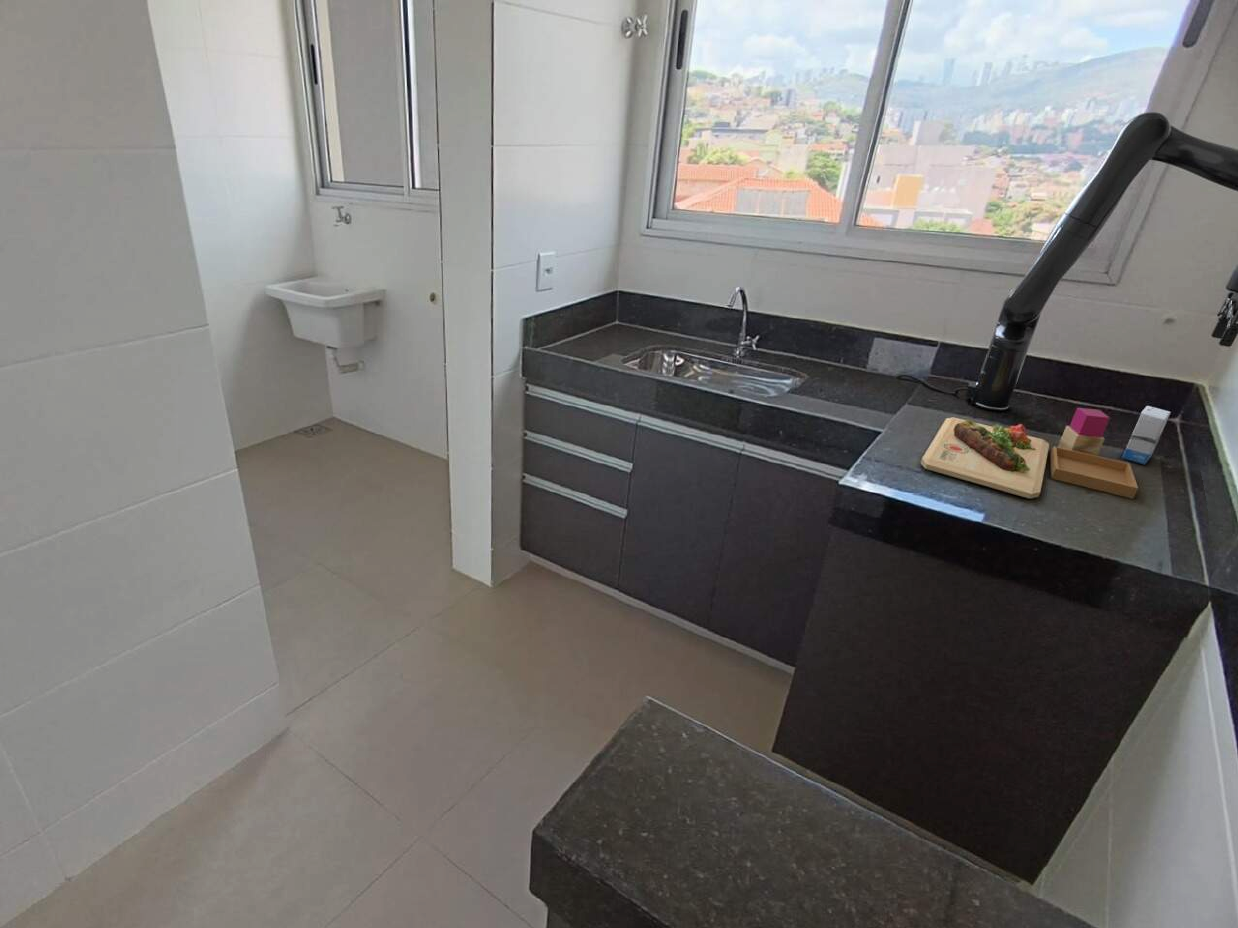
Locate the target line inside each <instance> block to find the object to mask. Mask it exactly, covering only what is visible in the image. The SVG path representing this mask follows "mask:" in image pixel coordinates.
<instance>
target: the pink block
mask: <svg viewBox="0 0 1238 928" xmlns="http://www.w3.org/2000/svg"><path fill="white" fill-rule="evenodd" d="M1110 419H1111V417H1110V416H1109V415H1107V414H1106V413H1104V412H1103V411H1102V410H1100V409H1094V408H1086V407H1076V410H1075V411H1074V414H1073V417H1072V420H1071V422H1070V424H1069V426H1070V428H1072V429H1073V430H1074V431H1075V432H1076V433H1077V434H1078V435H1084V436H1093V437H1103V435H1104V433H1105V432H1106V429H1107V426H1108V424H1109V421H1110Z"/></svg>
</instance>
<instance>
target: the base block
mask: <svg viewBox="0 0 1238 928" xmlns="http://www.w3.org/2000/svg"><path fill="white" fill-rule="evenodd" d="M1104 441H1105V437H1104V436H1102V437H1093V436H1084V435H1078V434H1077V433H1076V432H1075V431H1074V430H1073V429H1072V428H1070V425H1065V428H1064V431H1063V433H1062V435H1061V438H1060V440H1059V443H1058V445H1057V447H1060V448H1064V449H1069V450H1073V451H1078V452H1082V453H1086V454H1091V455H1095V456H1099V453H1100V451H1101V448H1102V446H1103V444H1104Z"/></svg>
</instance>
